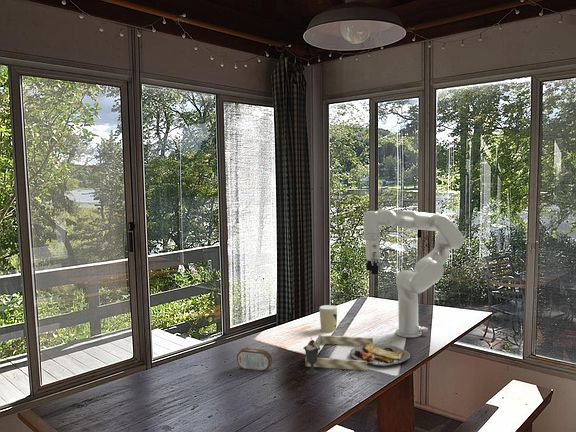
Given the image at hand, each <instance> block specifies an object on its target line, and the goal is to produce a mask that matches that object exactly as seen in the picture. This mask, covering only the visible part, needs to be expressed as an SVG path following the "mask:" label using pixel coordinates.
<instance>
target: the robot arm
mask: <svg viewBox="0 0 576 432" xmlns="http://www.w3.org/2000/svg"><path fill="white" fill-rule="evenodd" d="M380 226H383V227H391V226H393V227H399V228H404V229H408V230H409V229H410V230H411V229H412V230H420V231H431V232H432V231H433V232H437V233H436V235H435V239H434V240H435V241H434V248H433V249H432V250H431V251H430V252H429V253H428V254H426V255H425V256H423V257H422V258H421V259H420V260H418V261H417V262H416V263H415V264H414V271H412V270H407V269H406V270H405V269H404V270H401V271H400V272H398V274H397V275H396V281H395V282H396V289H397V296H398V299H397V300H398V303H397V304H398V306H397V307H398V308H397V309H398V328H397V329H396V330H395V331H394V333H395V335H397V336H398V337H403V338H418V337H420V336H422V333H428V332H429V328H428V327H426V326H420V323H419V297H418V296H419V295H418V294H422V293H423V292H425V291H427V290H428V289H430V288H431V287H432V286H433V285H435V284H436V283H437V282H439V280H440V279H442V277H443V275H444V272H445V268H444V266H443V265H444V264H445V263H446V262H447V261H448V259H449V256H450V249H452V250H458V249H461V248H462V247H463V245H464V242H465V238H464V235H463V234H462V232H461V231H460V230H459V229H458V227H457V226H456V225H455V223H454V222H453V221H452V220H451V219H450V218H449V217H448V216H447V215H445V214H441V213H429V212H421V211H420V212H419V211H403V210H402V211H400V210H399V211H398V210H397V211H396V210H390V209H378V210H368V211H364V212H363V241H365V258H366V271H367V272H369V271H370V273H371V275H379V261H381V255H380V243H379V241H380V239H381V237H380V236H381V235H380V233H381V232H380V228H381V227H380Z"/></svg>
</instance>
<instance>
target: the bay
mask: <svg viewBox="0 0 576 432" xmlns="http://www.w3.org/2000/svg"><path fill="white" fill-rule="evenodd" d="M314 341H315V342H316V343H317V346H319V347H321V345H322V344H326V345H327V344H329V345H330V344H331V345H346V346H362V345H366V344H367V343H370V344H373V345H374V343H373V337H365V336H364V337H361V336H347V335H346V336H345V335H342V336H341V335H326V334H325V335H324V334H318V336H317V338H316V339H315V340H314ZM304 361H305V365H304V367H310V368H311V364H310V363H308V362H307V358H306V356H305V357H304ZM314 368H324V369H339V370H357V371H367V370H368V364H367V361H362V360H358V359H344V358H343V359H342V358H327V357H317V362H316V363H315V364H314Z"/></svg>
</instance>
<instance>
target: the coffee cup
mask: <svg viewBox="0 0 576 432" xmlns="http://www.w3.org/2000/svg"><path fill="white" fill-rule="evenodd" d="M318 310H319V318H320V328H321V329H320V330H321V332H323V331H324V332H323V333H333V331H334V332H336V331H337V320H338V307H337V306H336V305H332V304H326V305H325V304H324V305H321V306H319V308H318Z"/></svg>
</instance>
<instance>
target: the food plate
mask: <svg viewBox="0 0 576 432" xmlns="http://www.w3.org/2000/svg"><path fill="white" fill-rule="evenodd" d="M349 355H350V357H352V358H353V360H362V361H367V365H372V366H384V367H386V366H391V365H396V364H397V365H398V364H401V363H403V362H405V361H407V360H409V359H410V358H411V354H410V353H409V352H408V351H407V350H405V349H403V348H401V347H397V346H394V345H388V344H378V343H377V344H374V343H373V344H370V343H367V344H366V345H362V346H361V345H357V346H355V347H353V348H352V349H350V352H349Z"/></svg>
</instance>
